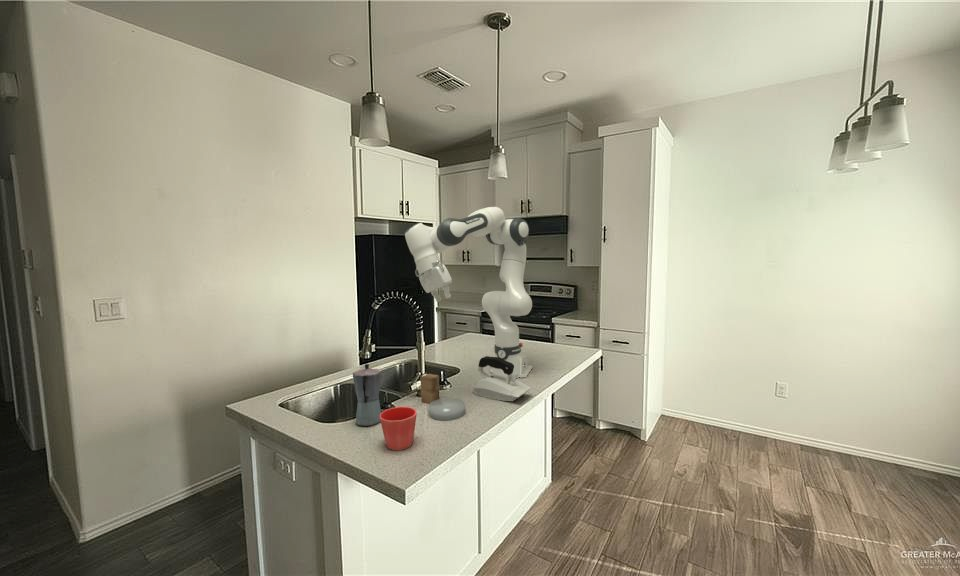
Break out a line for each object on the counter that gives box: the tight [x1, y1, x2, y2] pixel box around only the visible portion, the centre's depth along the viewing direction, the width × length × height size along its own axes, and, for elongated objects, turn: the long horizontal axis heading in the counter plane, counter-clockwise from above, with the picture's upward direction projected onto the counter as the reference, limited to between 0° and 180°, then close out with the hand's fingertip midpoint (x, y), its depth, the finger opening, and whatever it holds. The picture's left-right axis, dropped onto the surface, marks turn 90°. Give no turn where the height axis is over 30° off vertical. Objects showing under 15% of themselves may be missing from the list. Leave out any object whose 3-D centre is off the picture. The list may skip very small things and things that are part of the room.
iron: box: [472, 355, 533, 402], centre depth 152 cm, size 11×24×15 cm, turn 56°
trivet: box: [428, 397, 466, 422], centre depth 137 cm, size 13×13×3 cm
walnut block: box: [419, 373, 441, 405], centre depth 148 cm, size 5×5×10 cm
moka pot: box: [352, 363, 382, 427], centre depth 131 cm, size 10×15×20 cm, turn 14°
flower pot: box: [380, 406, 418, 451], centre depth 115 cm, size 11×11×10 cm
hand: (443, 299), depth 143 cm, fingers open, 8 cm apart
